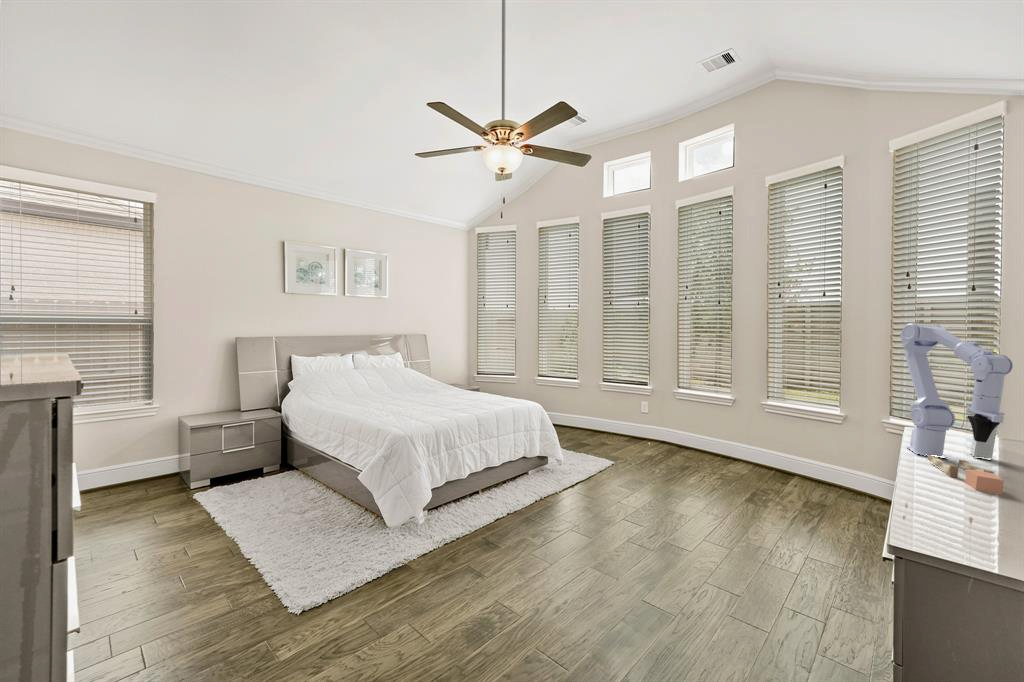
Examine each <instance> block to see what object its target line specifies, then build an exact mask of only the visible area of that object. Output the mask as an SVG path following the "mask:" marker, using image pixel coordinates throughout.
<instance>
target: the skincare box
mask: <svg viewBox="0 0 1024 682" xmlns="http://www.w3.org/2000/svg"><path fill="white" fill-rule="evenodd" d="M997 428H998V426H996V427H995V429H994V430H993V431H992V433H991V434H990V436H989V438H988V440H987V442H986V443H985V442H978V441H975V440H974V435H973V434H972V440H971V446H970V452H971V454H972V455H973V456H974V457H984V458H992V459H993V454H994V448H995V441H996V435H997V430H998V429H997ZM971 454H970V455H971ZM972 455H971V456H972ZM973 456H972V457H973ZM974 457H973V458H974Z"/></svg>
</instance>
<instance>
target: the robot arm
mask: <svg viewBox="0 0 1024 682" xmlns="http://www.w3.org/2000/svg"><path fill="white" fill-rule="evenodd" d="M900 338H901V343H902V346H903V351H904V352H903V353H904V356H905V360H906V363H907V367H908V371H909V374H910V379H911V382H912V385H913V388H914V389H913V390H914V392H915V396H916V400H915V401H913V402H912V403H911V404H910V419H911V421H912V423H913V426H914V427H913V429H912V430H911V436H910V442H909V443H910V444H909V445H906V449H908V450H909V449H910V451H911V452H912V451H913V452H912V453H914V454H915V453H916V454H915V455H917V454H920V455H919V456H922V455H926V454H927V455H937V456H942V455H944V449H945V442H946V434H947V431H950V428H951V427H954V425H955V424H956V416H955V415H956V414H955V413H954V412H953V411H952V410H951V408H950V405H949V403H947V402H946V401H944V400H943V399H941V398H940V396H939V394H938V390H937V385H936V383H935V379H934V375H933V372H932V368H931V366H930V361H929V359H928V355H927V353H928V352H930V351H932V350H933V349H935V347H937V345H939V344H941V345H942V346H944V347H947V348H948V349H950V350H952V351H953V354H954V356H955V357H956V358H957V359H960V360H961V361H963V362H964V363H966V364H968V365H969V366H970V368H971V371H972V372H973V379H974V385H973V391H972V398H971V405H967V406H966V412H967V413H969V414H970V413H971V414H974V415H967V416H966V417H967V419H968V420H969V423H970V426H971V428H972V433H973V434H972V436H973V435H974V440H975V441H978V442H985V443H986V442H987V440H988V438H989V436H990V434H991V433H992V431H993V430H994V429H995V427H996V426H997V427H998V426H1000V425H1001V424H1003V423H1004V416H1005V412H1001V411H1000V409H1001V403H1002V397H1003V390H1004V389H1003V388H1004V383H1005V377H1006V376H1007V375H1008V374H1010V373H1011V371H1013V369H1014V368H1013V367H1014V363H1013V360H1011V359H1010V357H1008V356H1007V355H1005V354H995V353H994V352H993V351H992V350H991V349H990V350H989V349H986V348H985V347H983V346H980V343H979V342H977V341H963V340H962V339H960V338H958V337H957V336H956V335H954V334H953V333H951V332H949V330H947V328H946V327H944V326H942V325H940V324H925V323H922V324H921V323H912V322H910V323H906V324H905V325H904V327H903V328H902V330H901V331H900Z"/></svg>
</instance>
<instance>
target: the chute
mask: <svg viewBox="0 0 1024 682" xmlns="http://www.w3.org/2000/svg"><path fill="white" fill-rule="evenodd" d="M927 460H929V461H930V462H932V463H933V464H935V465H936V466H938V467H939V468H940V469H941V470H943V471H944V472H945V473H946V474H945V473H944V472H943V473H944V474H945V475H946V476H948V475H949V476H948V477H949V478H954V477H955V478H956V479H957V478H958V473H959V468H961V467H962V468H963V469H962V468H961V469H962V470H964V469H965V470H967V469H970V470H977V471H983V472H989V473H993V474H995V472H994V471H992V470H987V469H983V470H982V469H981V468H979V467H977V466H975V465H973V464H972V463H970V462H969V461H967V460H964V459H958V463H957V465H954V464H948V463H946V462H945V461H943V460H941V458H937V457H935V456H931V455H928V456H927V459H926V461H927ZM958 465H959V466H960V467H959V466H958ZM941 470H940V471H941ZM965 470H964V471H965Z"/></svg>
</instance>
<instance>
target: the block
mask: <svg viewBox="0 0 1024 682" xmlns="http://www.w3.org/2000/svg"><path fill="white" fill-rule="evenodd" d="M983 471H984V470H983ZM983 471H977V470H970V469H967V471H966V474H965V475H966V476H965V482H964V483H965V484H967V485H968V486H969V487H970V488H972V489H973V490H974V491H978V492H985V493H991V494H995V493H996V494H997V495H1001V494H1003V488H1004V482H1005V480H1004V479H1003V478H1001V477H999V476H998V475H996V474H995V473H994V474H993V473H989V472H983Z"/></svg>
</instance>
